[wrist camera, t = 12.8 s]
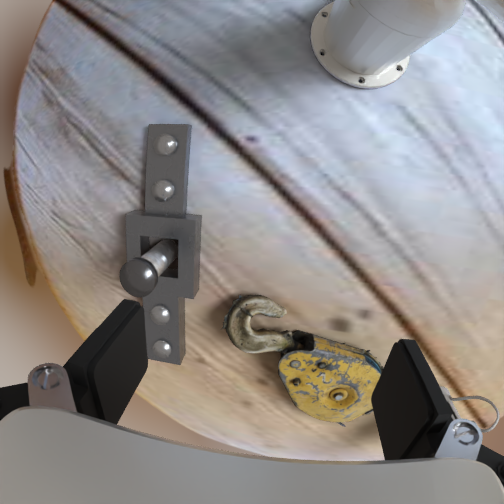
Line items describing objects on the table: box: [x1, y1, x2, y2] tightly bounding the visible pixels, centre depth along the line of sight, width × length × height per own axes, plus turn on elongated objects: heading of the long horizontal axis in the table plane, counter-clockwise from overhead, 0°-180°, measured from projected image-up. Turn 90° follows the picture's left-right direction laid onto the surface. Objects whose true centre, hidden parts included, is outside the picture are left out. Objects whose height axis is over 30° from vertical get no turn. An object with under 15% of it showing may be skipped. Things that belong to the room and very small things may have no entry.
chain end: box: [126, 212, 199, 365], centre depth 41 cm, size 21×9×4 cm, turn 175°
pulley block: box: [222, 295, 384, 427], centre depth 42 cm, size 14×6×30 cm
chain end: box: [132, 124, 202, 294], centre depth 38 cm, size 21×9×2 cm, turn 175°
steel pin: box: [120, 239, 178, 297], centre depth 36 cm, size 4×4×10 cm
